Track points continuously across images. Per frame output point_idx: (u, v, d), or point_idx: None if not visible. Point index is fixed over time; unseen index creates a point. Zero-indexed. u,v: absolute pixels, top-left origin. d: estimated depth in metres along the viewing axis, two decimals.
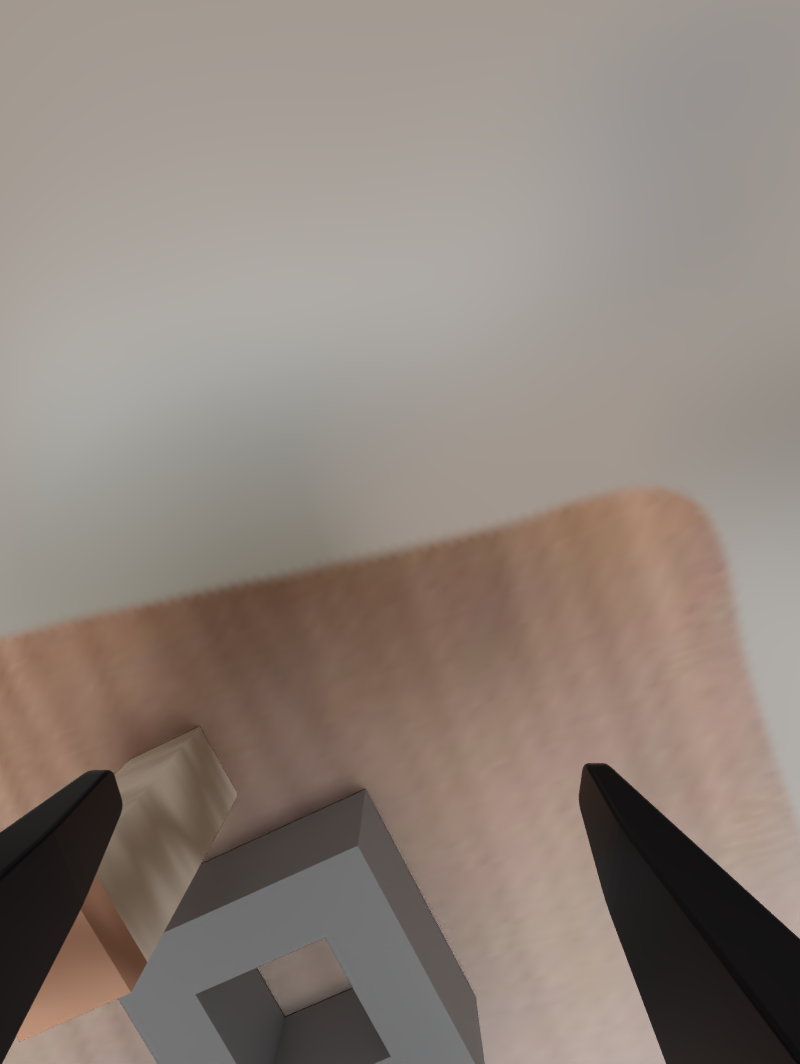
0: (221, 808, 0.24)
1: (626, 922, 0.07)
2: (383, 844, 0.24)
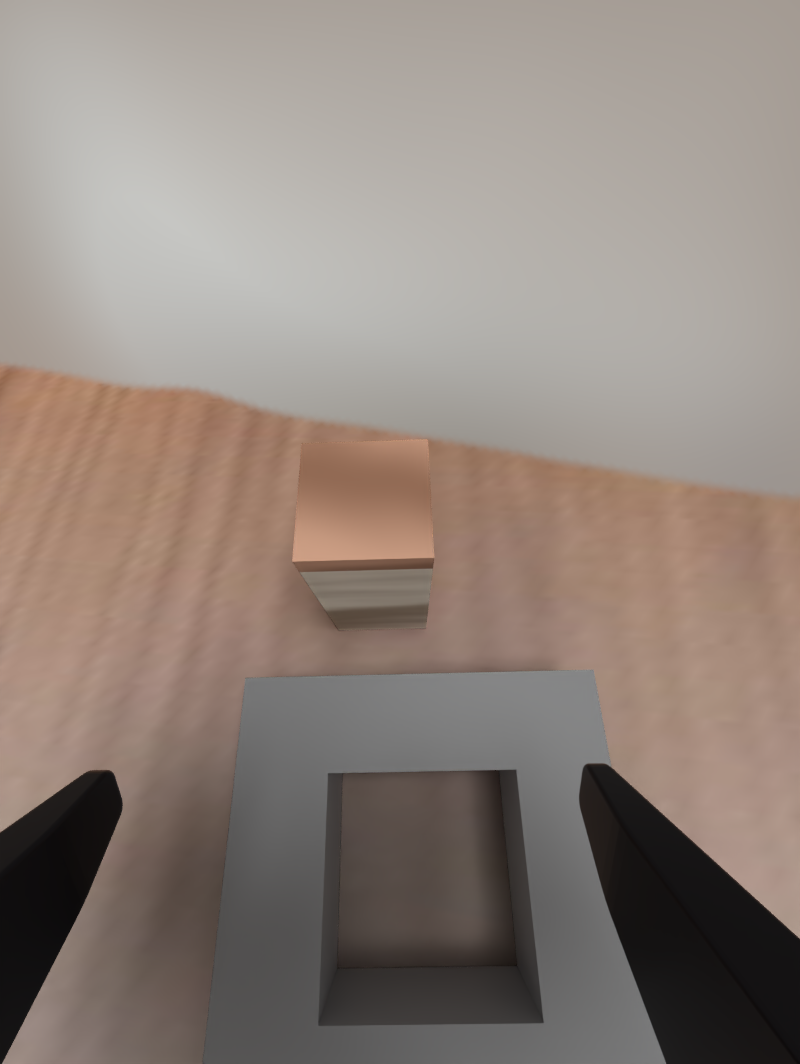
0: None
1: (626, 922, 0.07)
2: None
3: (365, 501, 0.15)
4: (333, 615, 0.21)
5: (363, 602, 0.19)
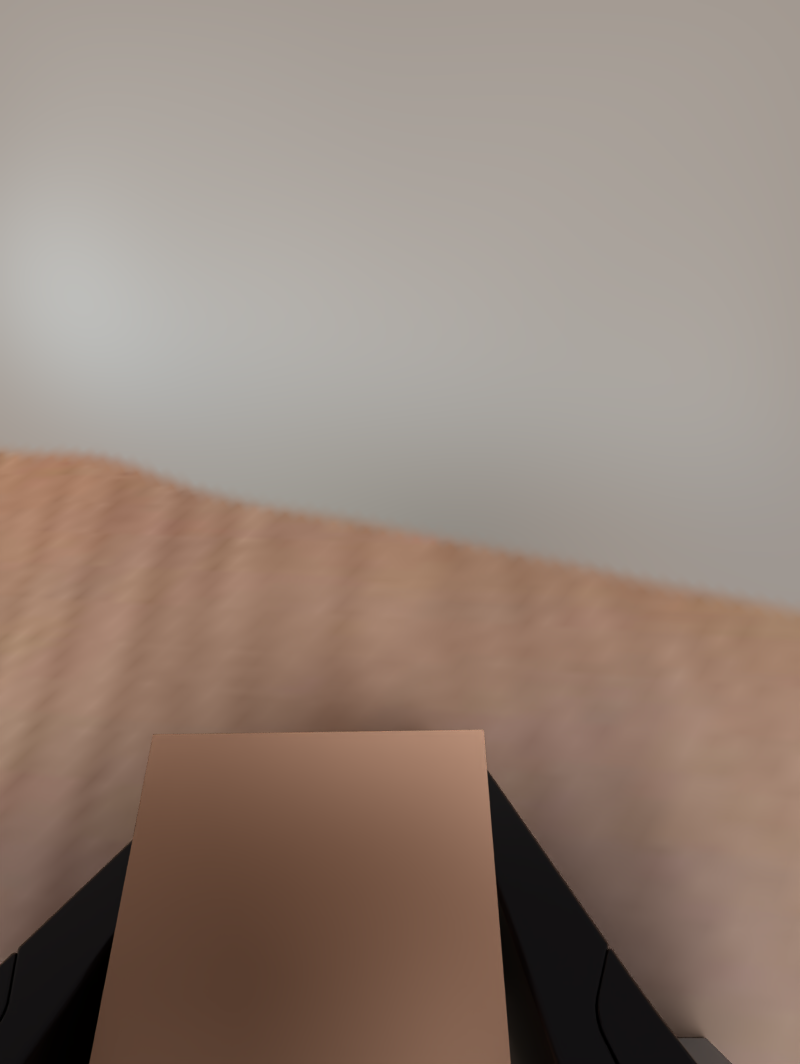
0: None
1: None
2: None
3: (308, 964, 0.05)
4: None
5: None
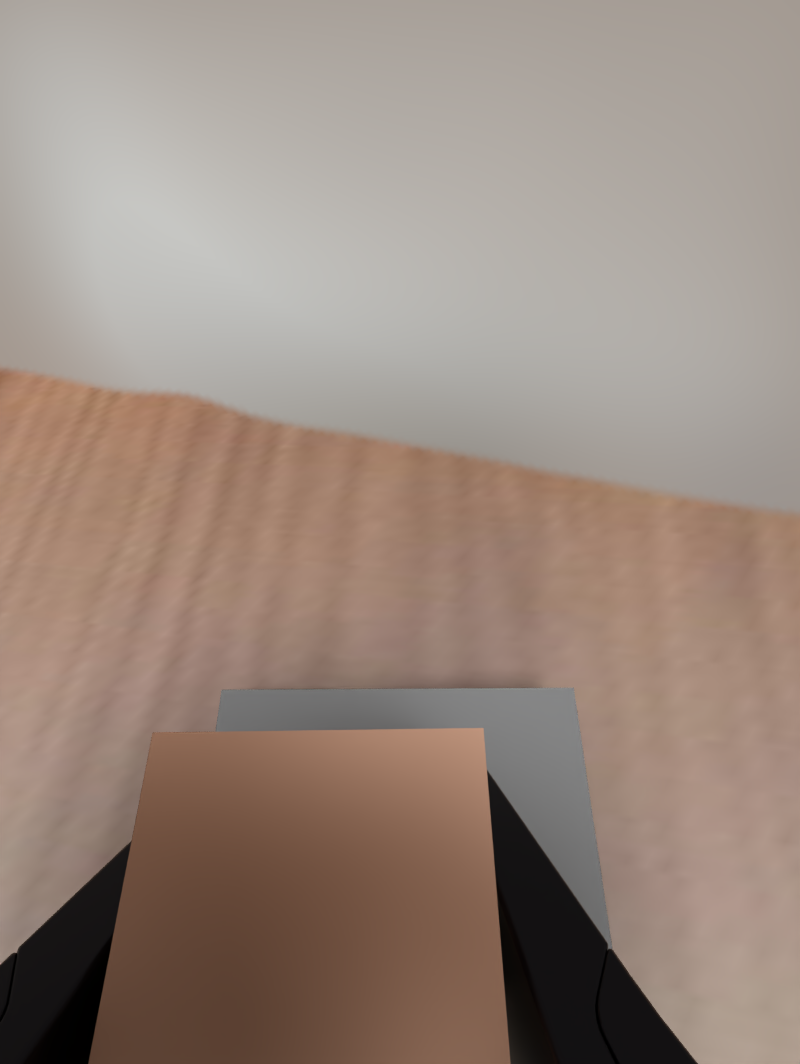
0: None
1: None
2: None
3: (308, 961, 0.05)
4: None
5: None
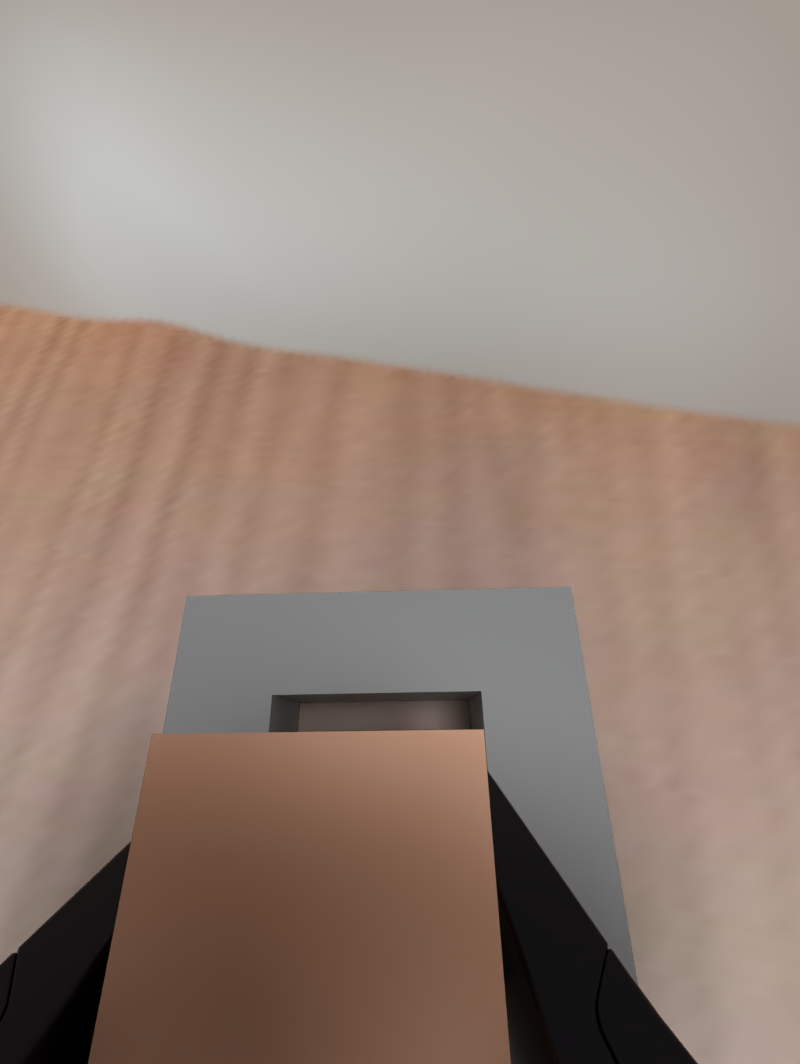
0: None
1: None
2: None
3: (308, 964, 0.05)
4: None
5: None
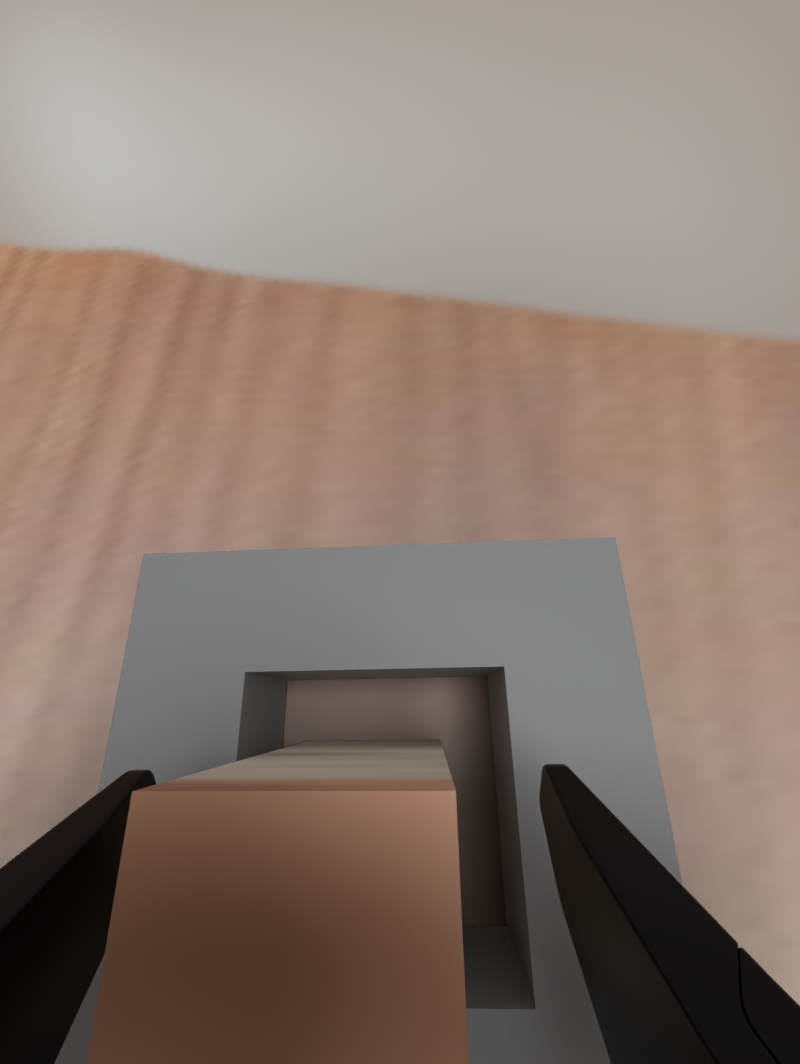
0: None
1: (577, 923, 0.07)
2: None
3: (281, 1022, 0.05)
4: None
5: None
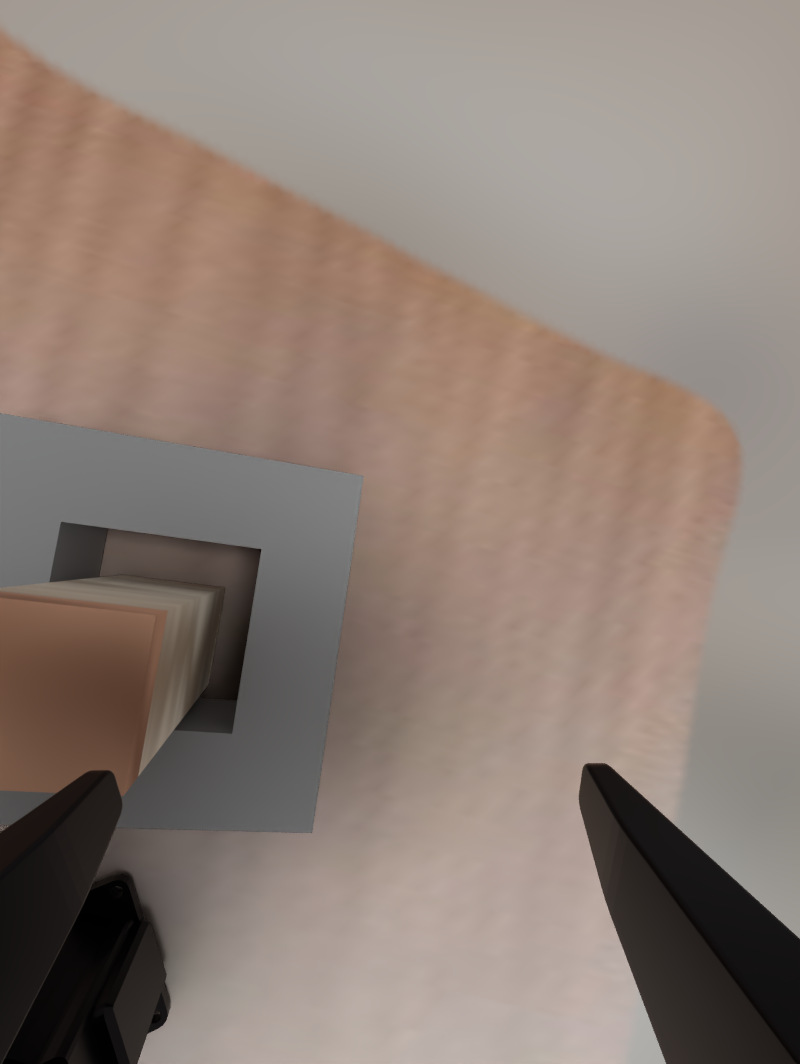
0: (202, 682, 0.20)
1: (626, 922, 0.07)
2: None
3: (42, 703, 0.11)
4: None
5: None
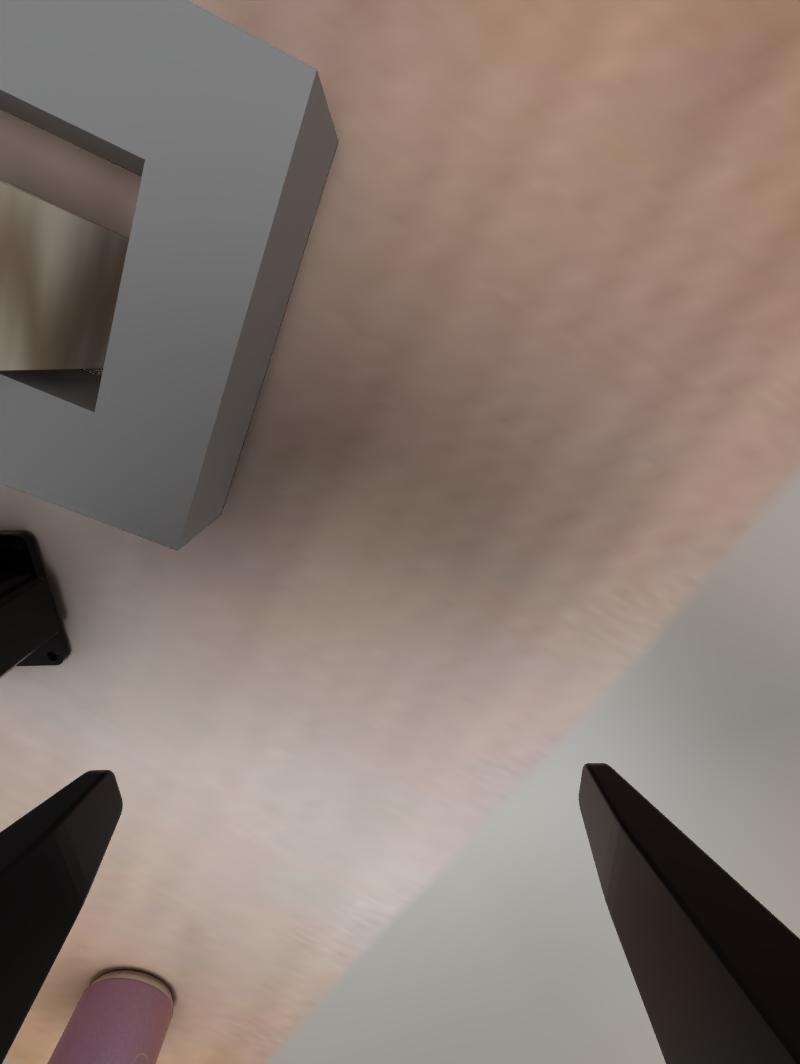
0: (93, 354, 0.16)
1: (626, 923, 0.07)
2: (306, 206, 0.15)
3: None
4: None
5: None
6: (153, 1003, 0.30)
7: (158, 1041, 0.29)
